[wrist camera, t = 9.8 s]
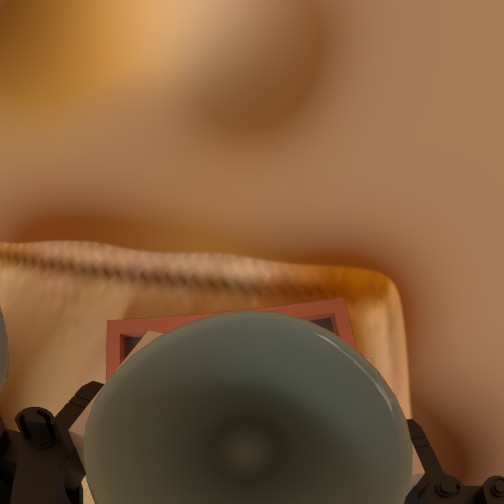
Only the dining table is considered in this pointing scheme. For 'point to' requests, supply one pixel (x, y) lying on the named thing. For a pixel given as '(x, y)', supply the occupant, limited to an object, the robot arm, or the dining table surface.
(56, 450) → the robot arm
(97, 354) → the dining table surface
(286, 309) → the tray
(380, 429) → the cup
